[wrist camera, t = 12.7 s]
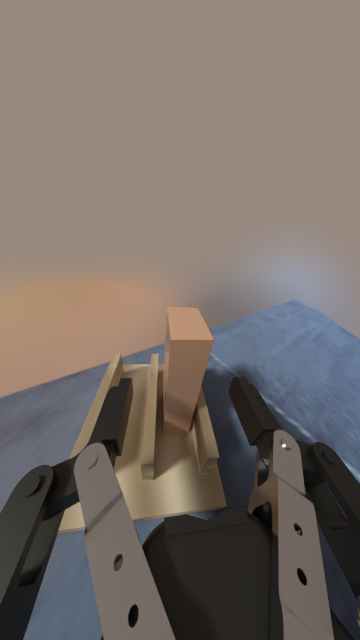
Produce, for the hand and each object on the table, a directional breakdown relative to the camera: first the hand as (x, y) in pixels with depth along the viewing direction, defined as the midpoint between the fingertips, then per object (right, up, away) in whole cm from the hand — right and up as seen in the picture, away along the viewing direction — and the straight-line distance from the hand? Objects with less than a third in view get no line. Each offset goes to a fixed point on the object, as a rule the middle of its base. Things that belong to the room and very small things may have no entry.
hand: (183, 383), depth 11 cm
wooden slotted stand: (-4, -8, +8) cm, 12 cm away
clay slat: (-1, -7, +8) cm, 10 cm away
